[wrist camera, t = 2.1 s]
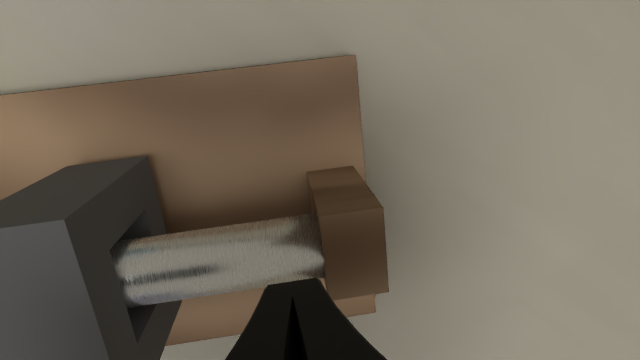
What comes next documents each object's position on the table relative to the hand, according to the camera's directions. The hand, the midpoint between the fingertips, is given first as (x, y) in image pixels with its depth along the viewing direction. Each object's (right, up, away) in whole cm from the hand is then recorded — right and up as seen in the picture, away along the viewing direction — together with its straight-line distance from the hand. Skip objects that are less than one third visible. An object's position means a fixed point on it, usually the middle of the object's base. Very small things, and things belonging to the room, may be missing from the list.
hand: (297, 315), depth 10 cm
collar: (-7, +1, +6) cm, 10 cm away
